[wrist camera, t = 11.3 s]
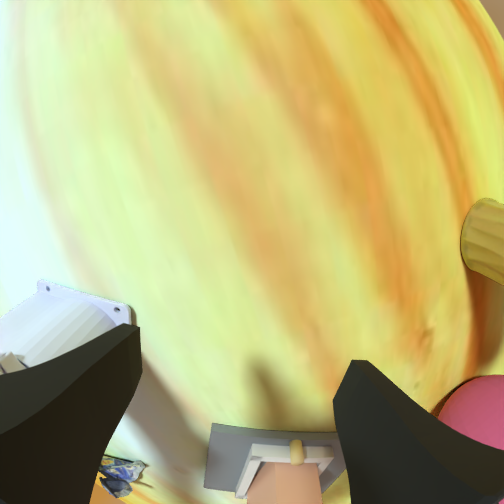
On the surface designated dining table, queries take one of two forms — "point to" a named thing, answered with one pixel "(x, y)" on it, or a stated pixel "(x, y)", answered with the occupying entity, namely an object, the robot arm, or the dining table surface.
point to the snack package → (119, 475)
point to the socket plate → (267, 455)
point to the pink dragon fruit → (478, 411)
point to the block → (285, 484)
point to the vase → (484, 239)
